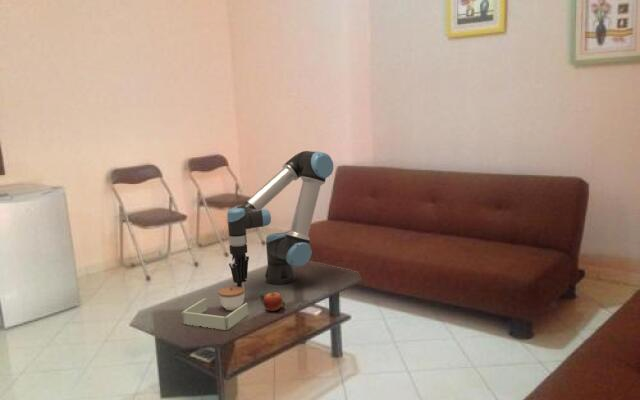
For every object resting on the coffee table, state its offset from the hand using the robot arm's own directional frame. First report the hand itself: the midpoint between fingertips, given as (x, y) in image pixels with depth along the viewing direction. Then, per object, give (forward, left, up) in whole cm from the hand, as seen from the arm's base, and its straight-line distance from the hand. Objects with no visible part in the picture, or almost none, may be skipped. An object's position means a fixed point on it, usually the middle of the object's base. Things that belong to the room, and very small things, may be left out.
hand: (241, 296), depth 235 cm
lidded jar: (+8, 0, -2) cm, 8 cm away
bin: (+21, 0, -2) cm, 21 cm away
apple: (+5, +18, -2) cm, 19 cm away
